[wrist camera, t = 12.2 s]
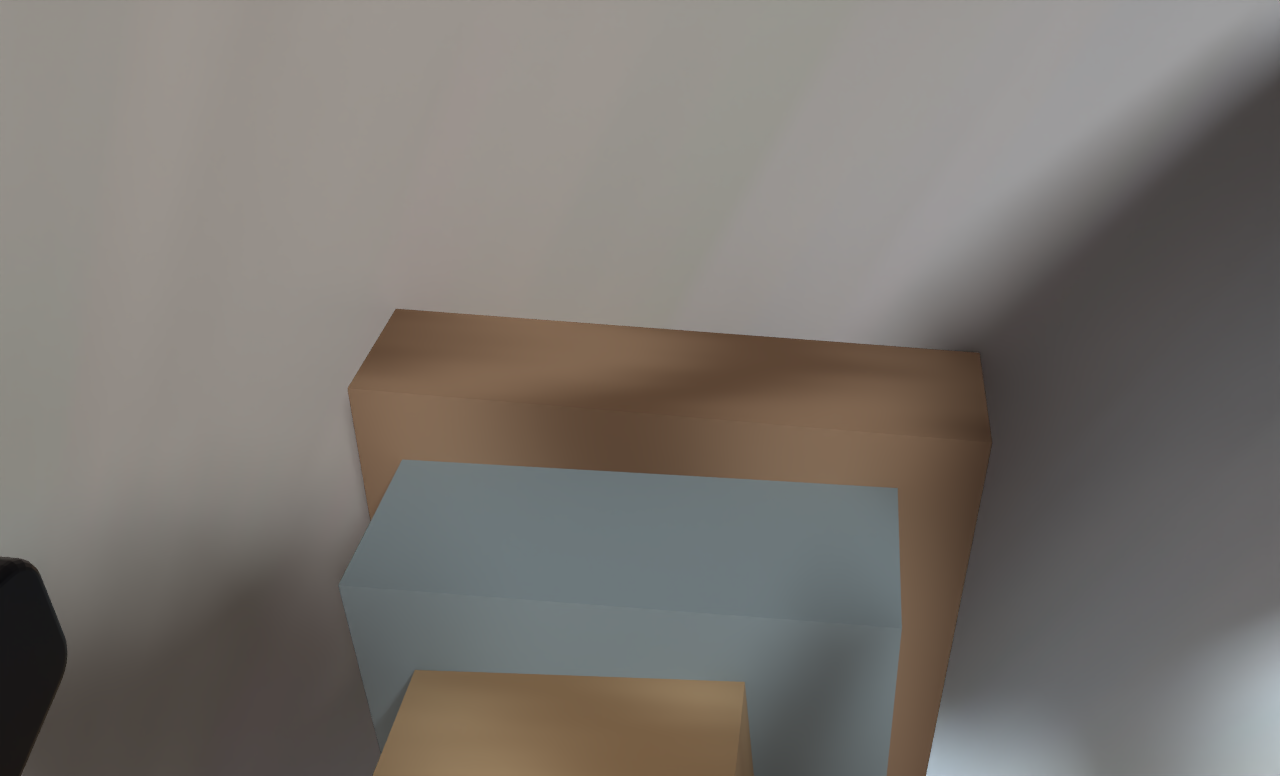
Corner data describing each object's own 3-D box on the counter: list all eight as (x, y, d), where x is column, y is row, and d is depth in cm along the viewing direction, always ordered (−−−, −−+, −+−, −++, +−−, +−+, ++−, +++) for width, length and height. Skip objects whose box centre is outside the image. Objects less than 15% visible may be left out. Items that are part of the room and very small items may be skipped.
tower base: (976, 335, 21) (992, 442, 18) (906, 728, 26) (910, 849, 24) (404, 293, 22) (347, 388, 19) (455, 677, 28) (416, 787, 25)
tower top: (897, 488, 19) (901, 628, 16) (867, 813, 23) (867, 960, 21) (402, 458, 20) (337, 585, 18) (464, 773, 25) (420, 908, 22)
